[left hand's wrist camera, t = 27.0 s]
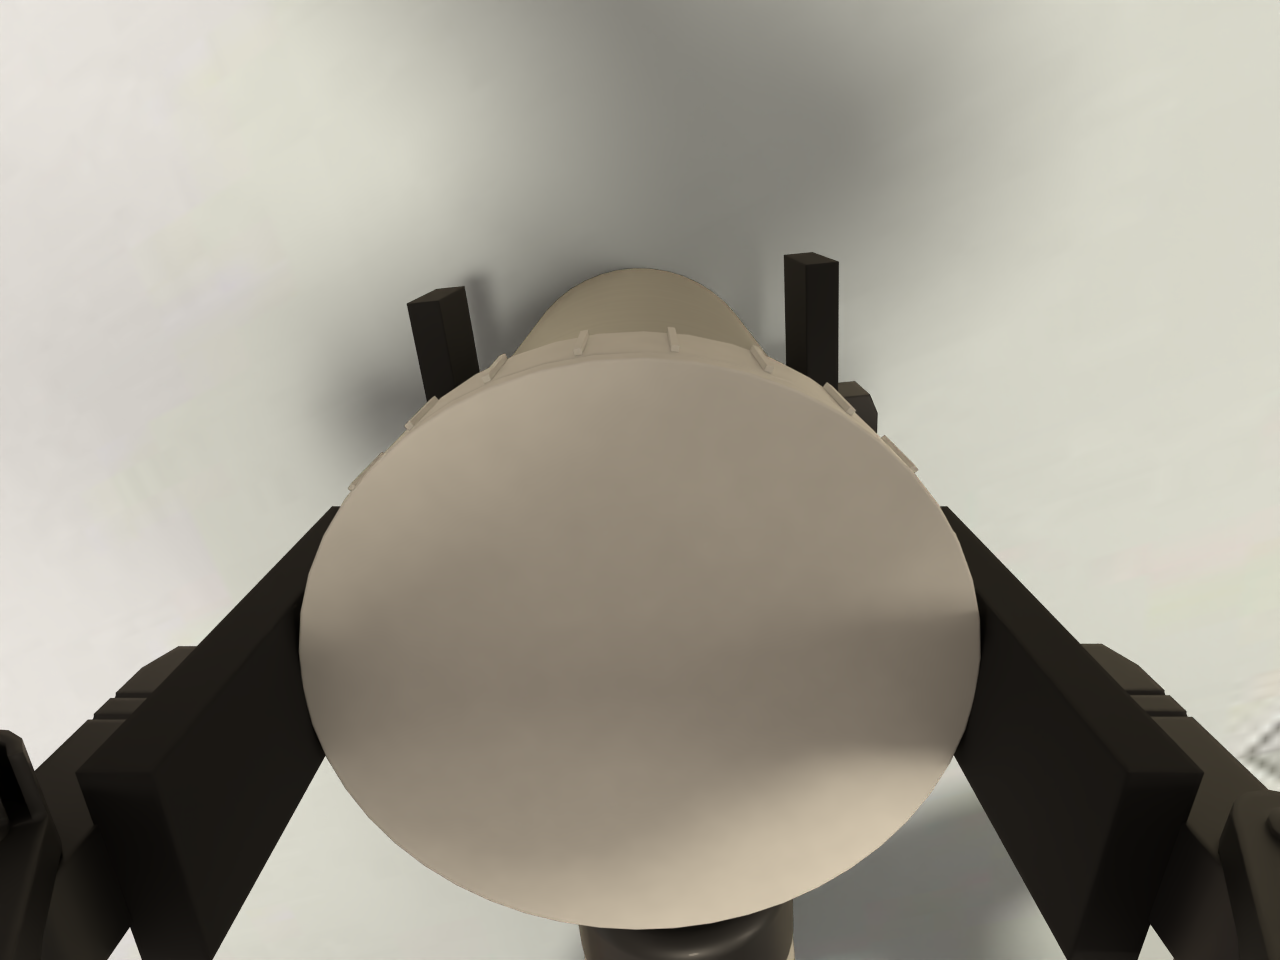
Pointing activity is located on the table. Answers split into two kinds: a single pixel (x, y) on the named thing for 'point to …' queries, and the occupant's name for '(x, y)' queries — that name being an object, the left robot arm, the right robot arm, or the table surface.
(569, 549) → the lid
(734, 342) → the jar
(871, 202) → the table surface
